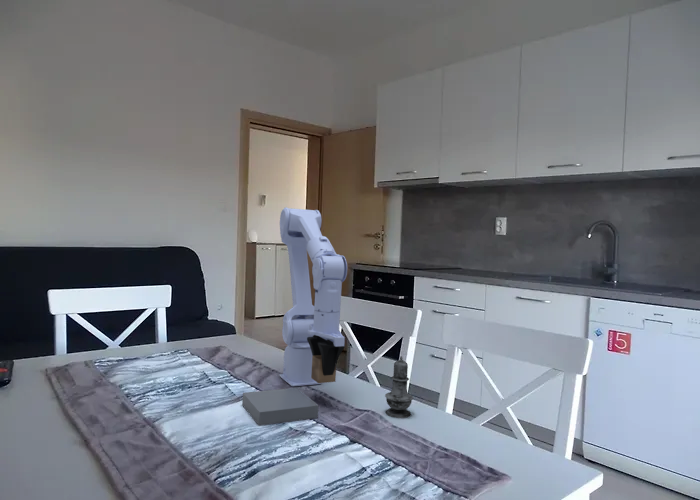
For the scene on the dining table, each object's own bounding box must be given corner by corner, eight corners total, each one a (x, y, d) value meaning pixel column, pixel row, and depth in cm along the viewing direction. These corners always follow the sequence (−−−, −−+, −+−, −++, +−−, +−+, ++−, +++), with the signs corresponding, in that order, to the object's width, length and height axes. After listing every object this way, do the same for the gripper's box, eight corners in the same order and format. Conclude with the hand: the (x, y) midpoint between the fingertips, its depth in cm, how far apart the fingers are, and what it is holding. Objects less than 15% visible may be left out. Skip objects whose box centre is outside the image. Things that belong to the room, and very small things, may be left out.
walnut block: (311, 378, 107) (312, 355, 107) (327, 376, 109) (328, 354, 109) (318, 383, 104) (319, 360, 104) (335, 381, 106) (336, 358, 106)
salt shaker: (411, 420, 98) (414, 360, 98) (382, 416, 99) (385, 358, 99) (413, 410, 104) (416, 354, 103) (385, 407, 105) (389, 351, 105)
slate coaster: (242, 404, 101) (242, 392, 101) (296, 398, 107) (296, 387, 107) (258, 425, 91) (259, 412, 91) (317, 417, 96) (318, 405, 96)
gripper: (298, 305, 111) (294, 364, 111) (324, 316, 98) (320, 383, 98) (326, 305, 114) (322, 362, 114) (354, 315, 101) (351, 380, 101)
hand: (323, 371), depth 106 cm, fingers closed on walnut block, 4 cm apart
